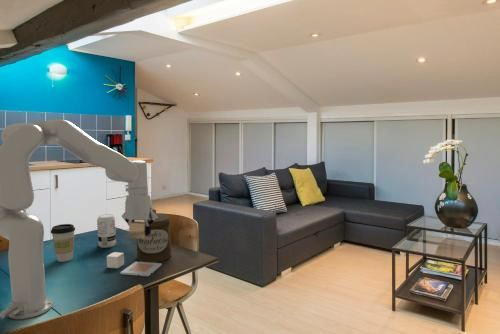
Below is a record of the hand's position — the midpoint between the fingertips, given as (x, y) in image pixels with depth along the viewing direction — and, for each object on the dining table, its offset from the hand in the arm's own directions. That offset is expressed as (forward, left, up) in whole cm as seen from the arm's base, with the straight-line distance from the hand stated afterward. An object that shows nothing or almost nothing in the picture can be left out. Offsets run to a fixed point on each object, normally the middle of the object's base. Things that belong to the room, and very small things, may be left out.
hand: (140, 234), depth 152 cm
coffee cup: (+5, +40, -15) cm, 43 cm away
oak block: (0, 0, -1) cm, 1 cm away
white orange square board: (0, 0, -15) cm, 15 cm away
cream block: (+2, +13, -15) cm, 20 cm away
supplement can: (+26, +32, -15) cm, 44 cm away
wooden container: (+15, +2, -15) cm, 21 cm away
